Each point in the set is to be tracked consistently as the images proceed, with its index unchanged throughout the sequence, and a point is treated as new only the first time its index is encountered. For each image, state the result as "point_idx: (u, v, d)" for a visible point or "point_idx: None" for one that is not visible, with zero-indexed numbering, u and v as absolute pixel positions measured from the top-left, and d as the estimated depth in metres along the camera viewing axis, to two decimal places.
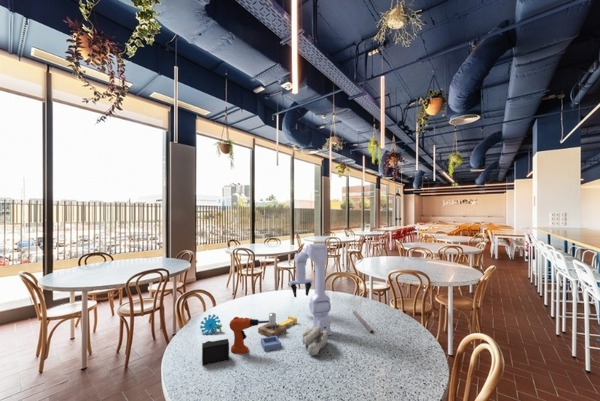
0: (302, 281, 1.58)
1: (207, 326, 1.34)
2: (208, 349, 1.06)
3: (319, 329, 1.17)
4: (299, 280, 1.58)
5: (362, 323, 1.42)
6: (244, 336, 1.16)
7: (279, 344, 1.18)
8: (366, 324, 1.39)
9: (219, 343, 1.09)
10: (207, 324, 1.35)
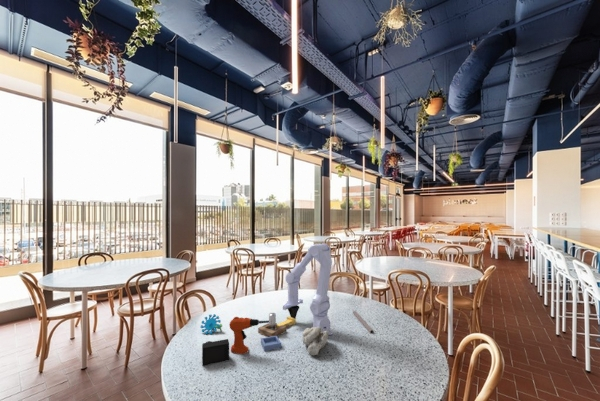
0: (296, 303, 1.45)
1: (207, 326, 1.35)
2: (208, 350, 1.06)
3: (319, 329, 1.16)
4: (293, 302, 1.44)
5: (362, 323, 1.42)
6: (244, 336, 1.16)
7: (279, 344, 1.18)
8: (366, 324, 1.39)
9: (219, 343, 1.08)
10: (207, 324, 1.35)
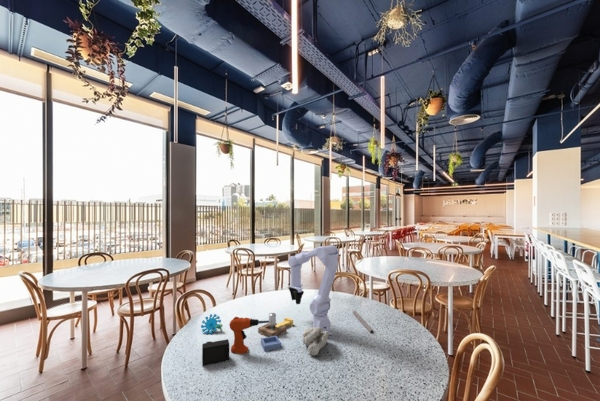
0: (290, 285, 1.48)
1: (208, 325, 1.35)
2: (208, 350, 1.06)
3: (319, 329, 1.16)
4: None
5: (362, 323, 1.42)
6: (244, 336, 1.16)
7: (279, 344, 1.18)
8: (366, 324, 1.39)
9: (219, 344, 1.08)
10: (208, 323, 1.36)
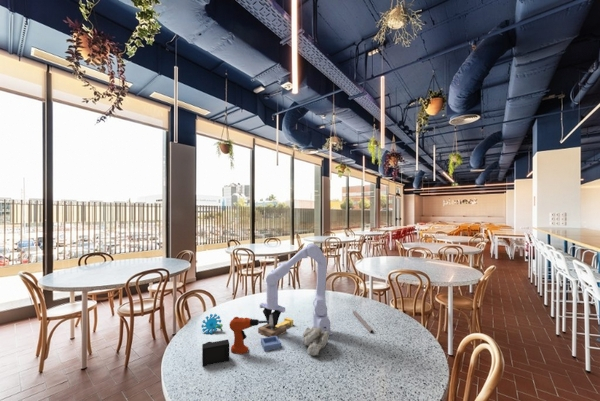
0: (268, 307, 1.32)
1: (208, 325, 1.35)
2: (208, 350, 1.05)
3: (320, 329, 1.16)
4: (266, 305, 1.34)
5: (362, 323, 1.42)
6: (244, 336, 1.16)
7: (279, 344, 1.18)
8: (366, 324, 1.39)
9: (219, 344, 1.08)
10: (208, 323, 1.36)
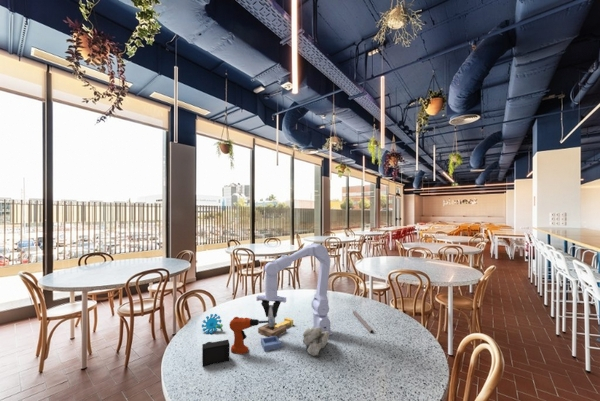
0: (268, 298, 1.25)
1: (208, 325, 1.35)
2: (208, 350, 1.05)
3: (320, 330, 1.16)
4: (266, 296, 1.26)
5: (362, 323, 1.42)
6: (244, 336, 1.16)
7: (279, 344, 1.18)
8: (366, 324, 1.39)
9: (219, 344, 1.08)
10: (208, 323, 1.36)
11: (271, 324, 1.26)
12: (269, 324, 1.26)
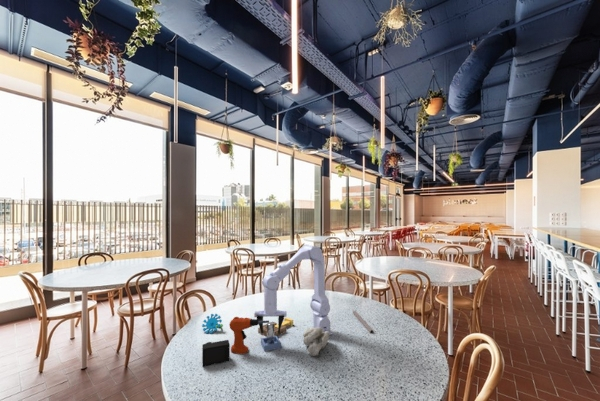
0: (269, 313, 1.18)
1: (208, 325, 1.36)
2: (208, 350, 1.05)
3: (320, 330, 1.16)
4: (266, 312, 1.19)
5: (362, 323, 1.42)
6: (244, 336, 1.16)
7: (279, 344, 1.18)
8: (366, 324, 1.39)
9: (219, 344, 1.08)
10: (209, 323, 1.36)
11: (271, 343, 1.19)
12: (269, 343, 1.19)
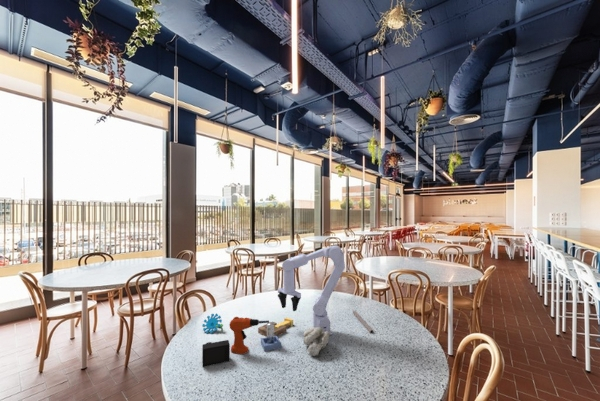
0: (285, 291, 1.36)
1: (209, 325, 1.36)
2: (208, 351, 1.05)
3: (320, 330, 1.16)
4: (283, 289, 1.37)
5: (362, 323, 1.42)
6: (244, 336, 1.16)
7: (279, 344, 1.18)
8: (366, 324, 1.39)
9: (220, 344, 1.08)
10: (209, 323, 1.37)
11: (271, 343, 1.19)
12: (269, 343, 1.19)
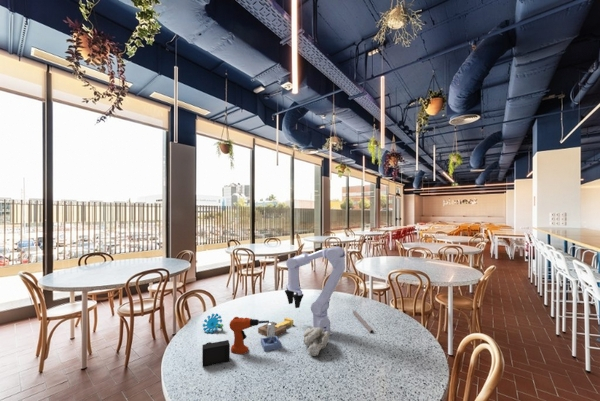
0: (289, 288, 1.42)
1: (209, 325, 1.36)
2: (208, 351, 1.05)
3: (320, 330, 1.16)
4: None
5: (362, 323, 1.42)
6: (244, 336, 1.16)
7: (279, 344, 1.18)
8: (366, 324, 1.39)
9: (220, 344, 1.08)
10: (209, 323, 1.37)
11: (271, 343, 1.19)
12: (269, 343, 1.19)
